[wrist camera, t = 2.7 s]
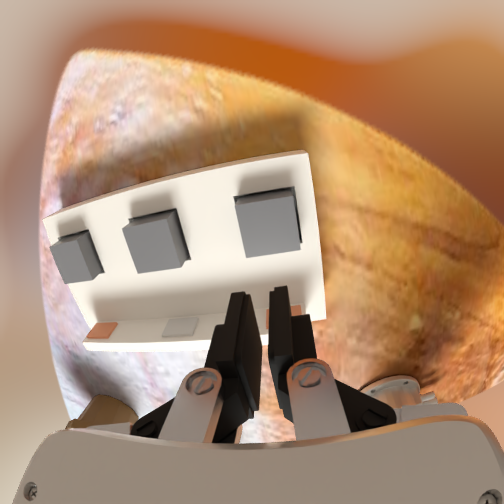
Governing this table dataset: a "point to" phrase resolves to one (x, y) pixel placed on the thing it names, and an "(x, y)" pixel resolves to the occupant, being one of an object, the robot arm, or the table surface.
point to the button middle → (156, 242)
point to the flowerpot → (104, 413)
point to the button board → (193, 256)
